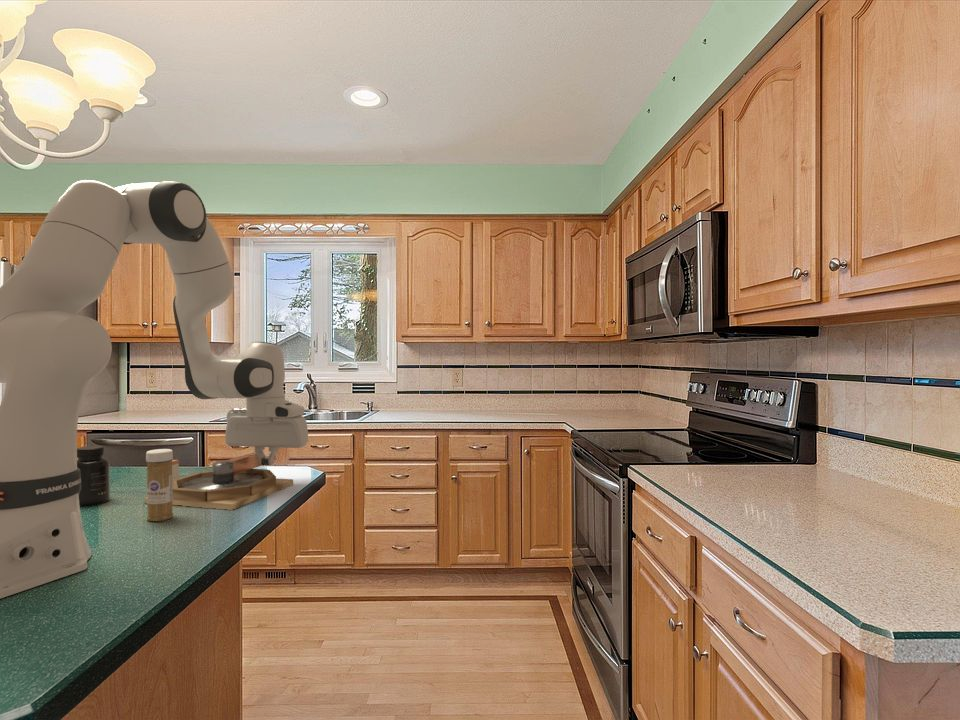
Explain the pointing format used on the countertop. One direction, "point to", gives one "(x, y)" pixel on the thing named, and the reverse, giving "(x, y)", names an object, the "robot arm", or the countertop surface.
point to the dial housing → (226, 491)
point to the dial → (228, 474)
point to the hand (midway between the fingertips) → (266, 464)
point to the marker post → (175, 469)
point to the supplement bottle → (93, 475)
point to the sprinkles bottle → (159, 484)
